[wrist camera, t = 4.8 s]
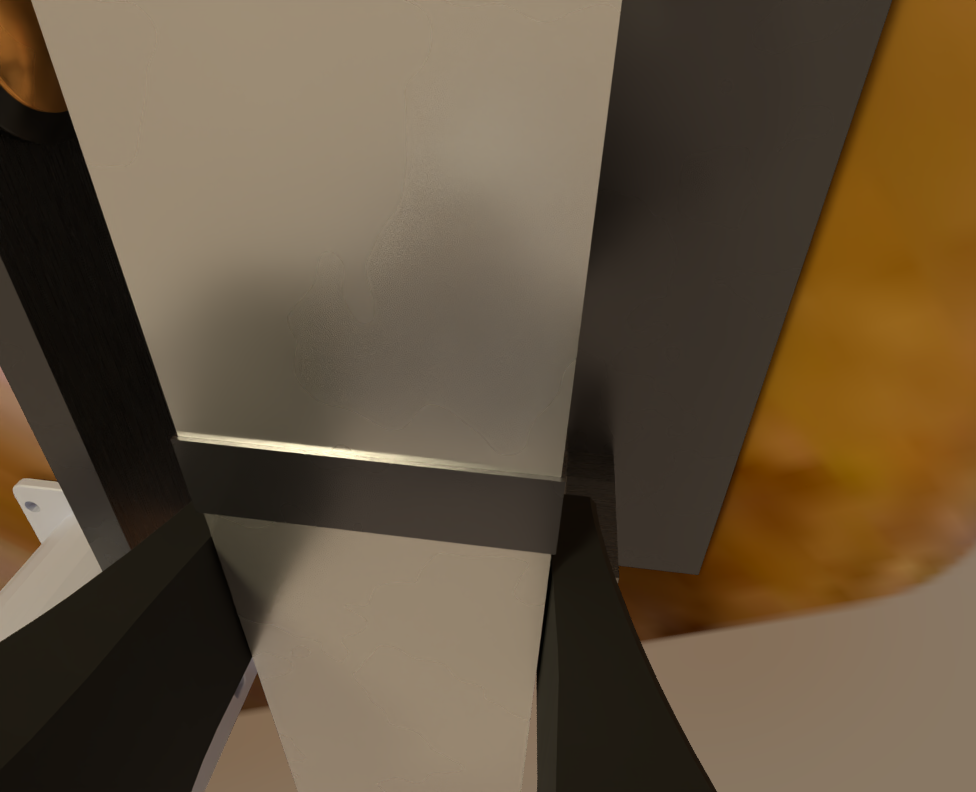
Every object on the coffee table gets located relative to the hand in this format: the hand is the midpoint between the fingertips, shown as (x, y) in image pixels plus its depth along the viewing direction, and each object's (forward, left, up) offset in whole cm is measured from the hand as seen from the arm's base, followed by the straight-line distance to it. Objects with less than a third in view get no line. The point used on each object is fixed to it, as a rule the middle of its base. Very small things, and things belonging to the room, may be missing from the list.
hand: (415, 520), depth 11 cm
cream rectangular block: (0, 0, -2) cm, 2 cm away
